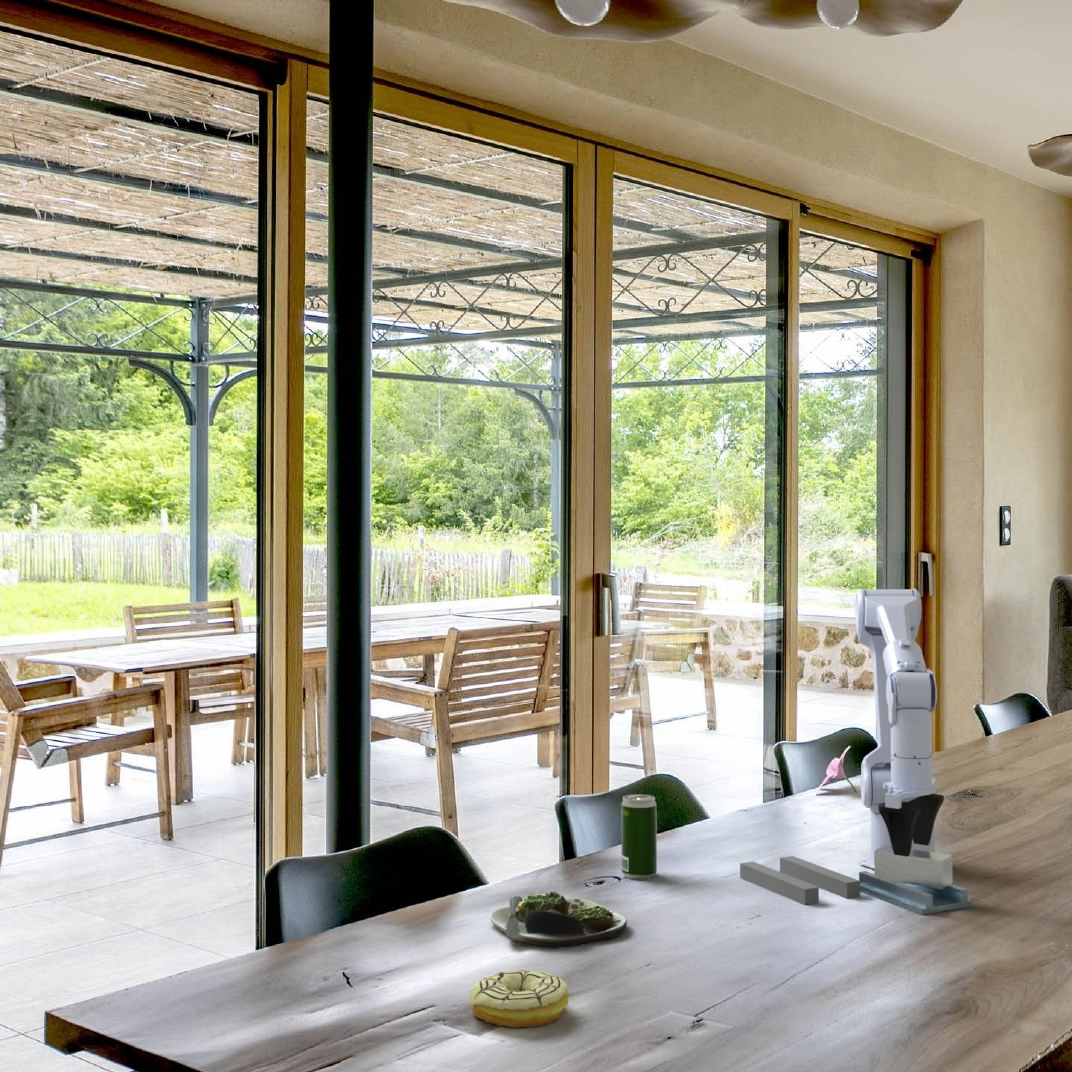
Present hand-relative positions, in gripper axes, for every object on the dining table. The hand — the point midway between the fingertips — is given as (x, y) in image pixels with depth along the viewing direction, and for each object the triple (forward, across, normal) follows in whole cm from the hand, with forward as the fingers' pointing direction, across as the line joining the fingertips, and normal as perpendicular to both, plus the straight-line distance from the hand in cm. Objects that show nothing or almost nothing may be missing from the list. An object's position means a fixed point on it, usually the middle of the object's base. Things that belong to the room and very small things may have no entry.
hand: (911, 849), depth 184 cm
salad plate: (+7, +42, -33) cm, 54 cm away
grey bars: (+7, +4, -16) cm, 18 cm away
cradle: (+7, 0, 0) cm, 7 cm away
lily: (+8, -64, -40) cm, 76 cm away
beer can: (+7, +13, -38) cm, 41 cm away
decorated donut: (+7, +68, -18) cm, 71 cm away
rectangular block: (+4, 0, 0) cm, 4 cm away
